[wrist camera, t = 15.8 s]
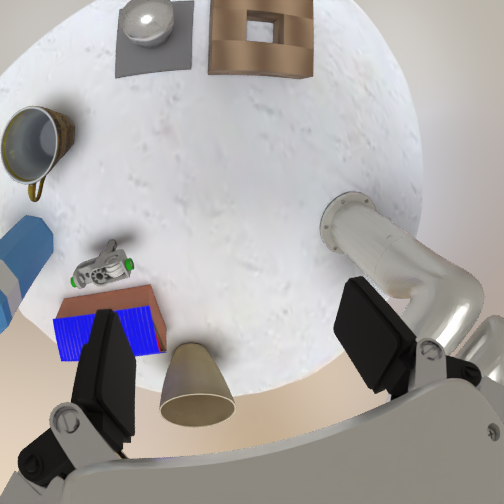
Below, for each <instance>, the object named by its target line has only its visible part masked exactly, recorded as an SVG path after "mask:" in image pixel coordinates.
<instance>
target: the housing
mask: <svg viewBox="0 0 504 504" xmlns="http://www.w3.org/2000/svg"><path fill="white" fill-rule="evenodd" d="M246 20H250V21H261V22H270V23H273V43H266V42H254V41H246ZM313 52H314V27H313V0H211V4H210V25H209V54H208V75H259V76H274V77H285V78H294V79H303V78H308V77H313Z"/></svg>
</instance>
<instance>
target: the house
mask: <svg viewBox="0 0 504 504" xmlns="http://www.w3.org/2000/svg"><path fill="white" fill-rule="evenodd" d="M98 309H112V310H113V312H117V314H118V316H119V319H120V321H121V324H122V327H123V329H124V332H125V334H126V337H127V339H128V342H129V344H130V346H131V349H132V351H133V353H134V356H143V355H151V354H159V353H166V352H165V351H166V326H165V324H164V321H163V318H162V316H161V313H160V310H159V307H158V304H157V302H156V299H155V296H154V293H153V290H152V287H151V284H150V285H144V286H139V287H133V288H127V289H121V290H115V291H109V292H103V293H97V294H91V295H84V296H78V297H72V298H65V299H64V300H63V302H62V305H61V307H60V309H59V311H58V314H57V316H56V319H53V324H54V330H55V335H56V340H57V345H58V349H59V354H60V358H61V361H79V358H80V354H81V350H82V347H83V345H84V344H85V343H88V340H89V336H90V332H91V329H92V325H93V321H94V318H95V314H96V311H97V310H98Z"/></svg>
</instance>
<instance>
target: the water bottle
mask: <svg viewBox="0 0 504 504" xmlns="http://www.w3.org/2000/svg"><path fill="white" fill-rule="evenodd" d="M52 253H53V233H52V232H51V231H50V229H49V228H48V227H47V225H46V224H45V222H44V221H43V220H42V218H37V217H32V216H27V215H26V216H25V217H24V218H23V219H21V220H20V221H19V222H18V223H17V224H16V225H15V226H14V227H13V228H12V229H11V230H10V231H9V232H8V233H6V234H5V235H4V236H3V237H2V238H1V239H0V334H1V333H2V332H3V331H4V330H5V329H6V328H7V327H8V326H9V324H10V322H11V320H12V318H13V316H14V314H15V312H16V310H17V309H18V307H19V305H20V303H21V302H22V300H23V298H24V296H25V295H26V293H27V291H28V290H29V288H30V286H31V285H32V283H33V281H34V280H35V278H36V277H37V275H38V274H39V272H40V271H41V269H42V268H43V266H44V265H45V263H46V262H47V260H48V259H49V257H50V256H51V254H52Z"/></svg>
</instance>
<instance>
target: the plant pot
mask: <svg viewBox="0 0 504 504" xmlns="http://www.w3.org/2000/svg"><path fill="white" fill-rule="evenodd" d="M235 412H236V404H235V402H234V400H233V397H232V395H231V393H230V390H229V388H228V386H227V384H226V382H225V380H224V378H223V376H222V374H221V372H220V370H219V369H218V367H217V365H216V363H215V362H214V360H213V359H212V357H211V356H210V354H209V353H208V352H207V350H206V349H205V348H204V347H203V346H201V345H199V344H195V343H187V344H183V345H181V346H179V347H178V348H177V349H176V351H175V353H174V355H173V357H172V360H171V362H170V364H169V367H168V370H167V373H166V377H165V380H164V384H163V389H162V394H161V401H160V408H159V413H160V415H161V417H162V418H163V419H164V420H166V421H168V422H169V423H171V424H174V425H178V426H182V427H192V428H197V427H207V426H212V425H216V424H219V423H222V422H224V421H226V420H228V419H229V418H230V417H232V416H233V415H234V413H235Z"/></svg>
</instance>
